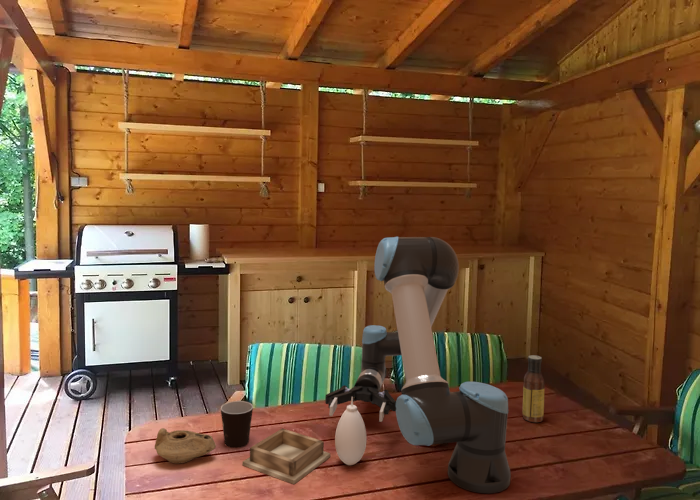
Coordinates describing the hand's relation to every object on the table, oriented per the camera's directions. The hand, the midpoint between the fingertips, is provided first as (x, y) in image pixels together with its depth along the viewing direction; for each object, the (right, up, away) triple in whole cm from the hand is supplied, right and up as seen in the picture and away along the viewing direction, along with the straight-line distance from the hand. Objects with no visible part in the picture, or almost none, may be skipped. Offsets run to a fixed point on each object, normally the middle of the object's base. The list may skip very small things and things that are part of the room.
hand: (355, 414), depth 153 cm
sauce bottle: (+55, -9, +24) cm, 61 cm away
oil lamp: (-44, -10, -6) cm, 45 cm away
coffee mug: (-32, -9, +5) cm, 34 cm away
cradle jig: (-18, -10, -6) cm, 21 cm away
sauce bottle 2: (-2, -11, -6) cm, 13 cm away
